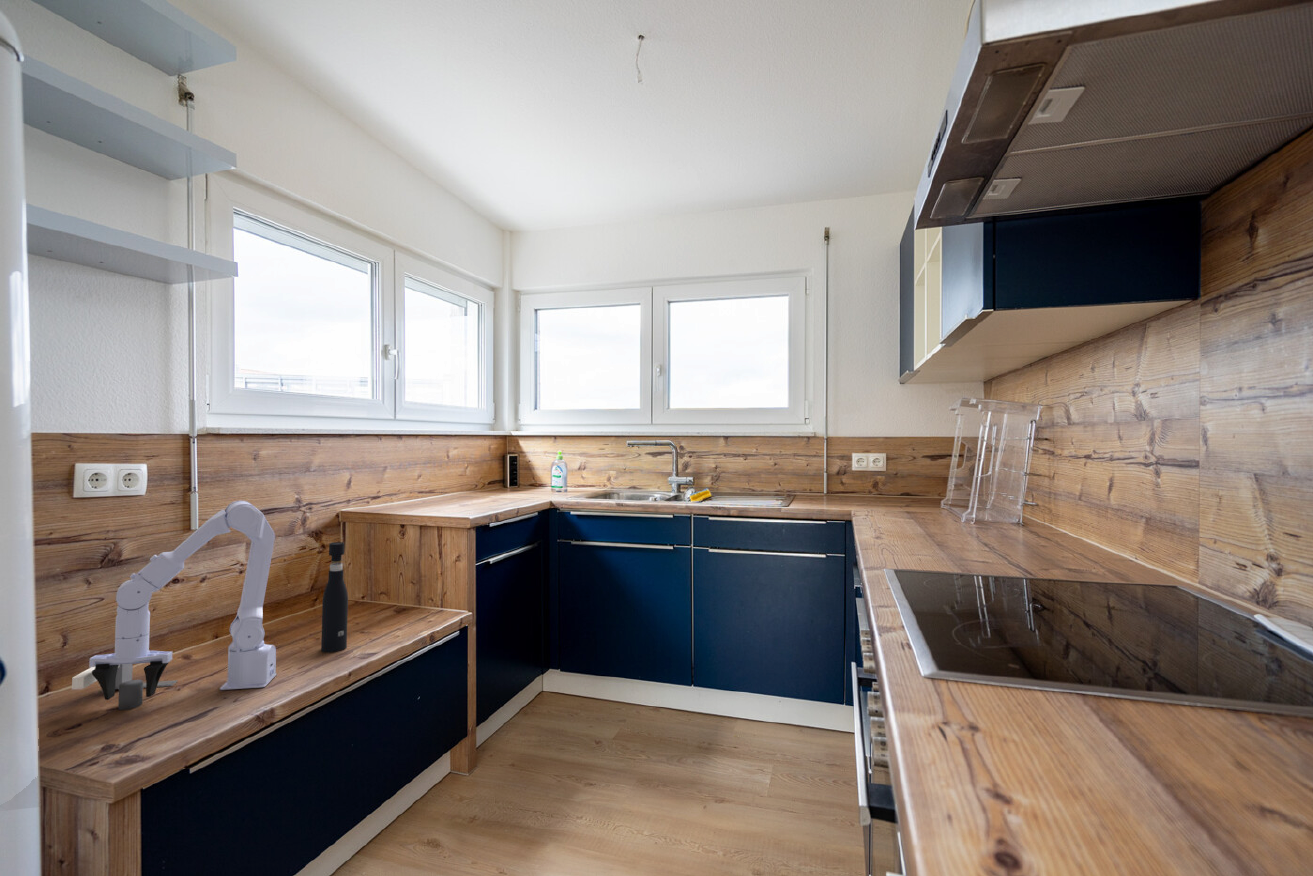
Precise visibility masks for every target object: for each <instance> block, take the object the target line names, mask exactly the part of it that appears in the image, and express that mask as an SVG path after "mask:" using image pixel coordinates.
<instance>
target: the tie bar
mask: <svg viewBox="0 0 1313 876" xmlns="http://www.w3.org/2000/svg"><path fill="white" fill-rule="evenodd" d="M133 666H134V664H120V665H119V666H118V670H117V674H116V684H115V690H117V689H119V685H120V684H121V683H124V682H127V681H131V680H133V668H134V667H133ZM95 668H96V667H89V668H88V669H85V670H84V671H81V672H79V674H76V675H75V676H73V677H72V678H71V679H72V680H71V690H83V689H84V690H85V688H87V687H88V686H90V685H92V684H94V683H95V682H98V681H97V680H96V678H95V677H94V676H93V675H92V671H93V670H94V669H95Z"/></svg>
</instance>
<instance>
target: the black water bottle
mask: <svg viewBox="0 0 1313 876" xmlns="http://www.w3.org/2000/svg"><path fill="white" fill-rule="evenodd" d="M344 555H345V542H341V541H335V542H330V543H329V544H328V556H331V561H330V562H331V563H330V565H329V570H328V577H327V579H328V580H327V583H326V585H325V589H324V592H323V596H322V605H321V607H322V608H321V609H322V611H321V639H320V640H321V645H320V648H321V649H320V650H321V652H322V653H337V652H342V651H343V650H346V649H347V647H348V645H347V643H348V617H349V616H348V615H349V613H348V612H349V611H348V608H349V605H348V604H349V596H348V590H347V589H348V588H347V586H346V583H345V581H344V571H345V570H344V569H343V568H344V567H343V563H342V562H343V560H342V557H343V556H344Z"/></svg>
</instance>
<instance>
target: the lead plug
mask: <svg viewBox="0 0 1313 876" xmlns="http://www.w3.org/2000/svg"><path fill="white" fill-rule="evenodd" d="M143 682H144V680H142V679H132V680H131V681H127V682H124V683H121V684H120V685H119V690H118V704H117V707H118V710H119V711H129V710H133V709H136V708H139V707H140V706H143V701H144V699H143V696H144V694H143V693H144V688H143Z"/></svg>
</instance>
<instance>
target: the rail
mask: <svg viewBox="0 0 1313 876" xmlns="http://www.w3.org/2000/svg"><path fill="white" fill-rule="evenodd" d="M176 683H178V680H176V679H175V680H174V679H172V680H159V682H158V684H157V688H161V687H162V688H163V687H172V686H174V685H175V684H176ZM143 689H146V681H145V682H144V681H143ZM117 690H118V691H119V689H116V691H117Z"/></svg>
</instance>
